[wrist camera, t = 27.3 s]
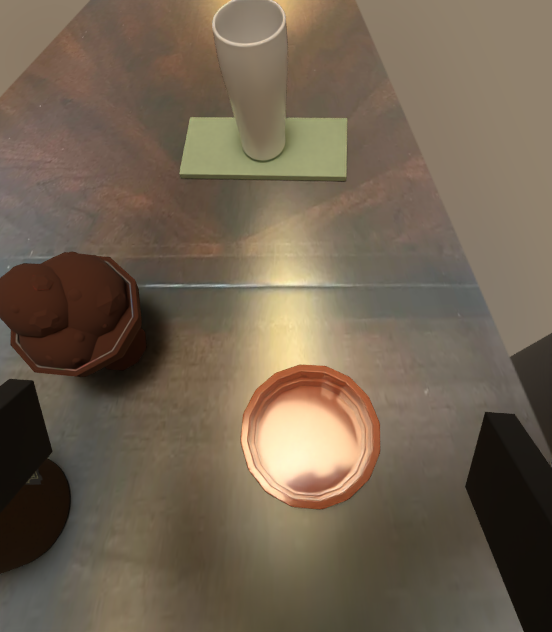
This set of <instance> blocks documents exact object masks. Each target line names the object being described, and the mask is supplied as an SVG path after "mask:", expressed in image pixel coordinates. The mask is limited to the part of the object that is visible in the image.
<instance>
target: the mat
mask: <svg viewBox="0 0 552 632" xmlns="http://www.w3.org/2000/svg"><path fill="white" fill-rule="evenodd" d="M285 136H286V142H285V147H284V149H283V151H282V152H281V153H280V154H279V155H278V156H276V157H275V158H273V159H270V160H265V161H260V160H255V159H253V158H251V157H249V156H248V155H247V154H246V153H245V152H244V150H243V148H242V144H241V139H240V134H239V131H238V127H237V124H236V121H235V118H197V117H191V118H190V121H189V127H188V132H187V137H186V142H185V147H184V152H183V158H182V163H181V168H180V173H179V174H180V177H181V178H199V179H256V180H313V181H346V168H347V118H286V120H285Z"/></svg>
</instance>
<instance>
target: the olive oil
mask: <svg viewBox="0 0 552 632" xmlns="http://www.w3.org/2000/svg"><path fill="white" fill-rule="evenodd" d="M69 504H70V493H69V487H68V483H67V480H66V478H65V476H64V474H63V472H62V471H61V469H60V468H59V467H58V466H57V465H56V464H55V463H53V462H52V461H50V460H49V459H46V460H45V461H44V462H43V463H42V465H41V466H40V467H39V468H38V469H37V471H36V472H35V473H34V474H33V475H32V476H31V478H30V479H29V480H28V481H27V482H26V484H25V485H24V486H23V487H22V488H21V489H20V491H19V492H18V493H17V494H16V495H15V497H14V498H13V499H12V500H11V501H10V503H9V504H8V505H7V506H6V507H5V508H4V510H3V511H2V512H1V513H0V574H1V573H4V572H7V571H10V570H12V569H15V568H18V567H20V566H23V565H25V564H28V563H30V562H32V561H33V560H35V559H37V558H38V557H39V556H41V555H42V554H43V553H45V552H46V551H47V550H48V549H49V548H50V547H51V545H52V544H53V543H54V542H55V540H56V539H57V538H58V536H59V534H60V533H61V531H62V529H63V527H64V524H65V522H66V519H67V516H68V511H69Z"/></svg>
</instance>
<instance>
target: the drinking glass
mask: <svg viewBox="0 0 552 632" xmlns="http://www.w3.org/2000/svg"><path fill="white" fill-rule="evenodd" d="M212 29H213V35H214V41H215V47H216V53H217V58H218V62H219V67H220V70H221V74H222V78H223V81H224V84H225V88H226V91H227V94H228V97H229V101H230V104H231V107H232V111H233V114H234V117H235V121H236V124H237V127H238V131H239V134H240V139H241V144H242V148H243V150H244V152H245V153H246V154H247V155H248V156H249V157H251V158H253V159H255V160H260V161H265V160H270V159H273V158H275V157H276V156H278V155H279V154H280V153H281V152H282V151H283V149H284V147H285V142H286V136H285V120H286V99H287V80H288V37H287V26H286V16H285V12H284V10H283V9H282V7H281V6H280V5H279V4H278V3H276V2H275V1H273V0H232V1H230V2H228V3H226V4H225V5H223V6H222V7H221V8H220V9H219V10H218V11H217V12H216V14H215V16H214V18H213V21H212Z"/></svg>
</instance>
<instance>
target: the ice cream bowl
mask: <svg viewBox="0 0 552 632" xmlns="http://www.w3.org/2000/svg"><path fill="white" fill-rule="evenodd" d="M0 318H1V319H2V320H3V321H4V323H5V324H6V325H7V326H8V327H9V328H10V329H11V344H10V345H11V346H12V347H13V348H14V349H15V350H16V352H17V353H18V354H19V355H20V356H21V357H22V358H23V360H24V361H25V362H26V363H27V364H28V365H29V366H30V368H31V369H32V370H33V371H34V372H37V373H47V374H57V375H67V376H78V377H86V376H88V375H90V374H92V373H94V372H96V371H98V370H100V369H102V368H104V367H105V368H106V369H112V370H122V371H123V370H125V369H126V368H128V367H130V366H132V365H134V364H136V363H137V362H138V361H139V360H140V358H141V356H142V354H143V353H144V351H145V349H146V347H147V346H146V336H145V331H144V330H142V329H141V328H140V327H141V323H142V322H141V311H140V300H139V289H138V286H137V284H136V281H135V280H134V279H133V278H132V277H131V276H130V275H129V274H128V273H127V272H126V271H124V270H123V269H122V268H121V267H120V266H119V265H118V264H117V263H116V262H115V261H113V260H112V259H111V258H110V257H101V256H96V255H86V254H78V253H76V252H68V253H67V252H64V253H62V254H60V255H58V256H56V257H53V258H51V259H49V260H47V261H45V262H43V263H42V264H27V263H23V264H20V265H17V266H15V267H13V268H12V269H11V270H10V271H9V272H7V273H6V274H5V275H3V276H2V277H1V278H0Z"/></svg>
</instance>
